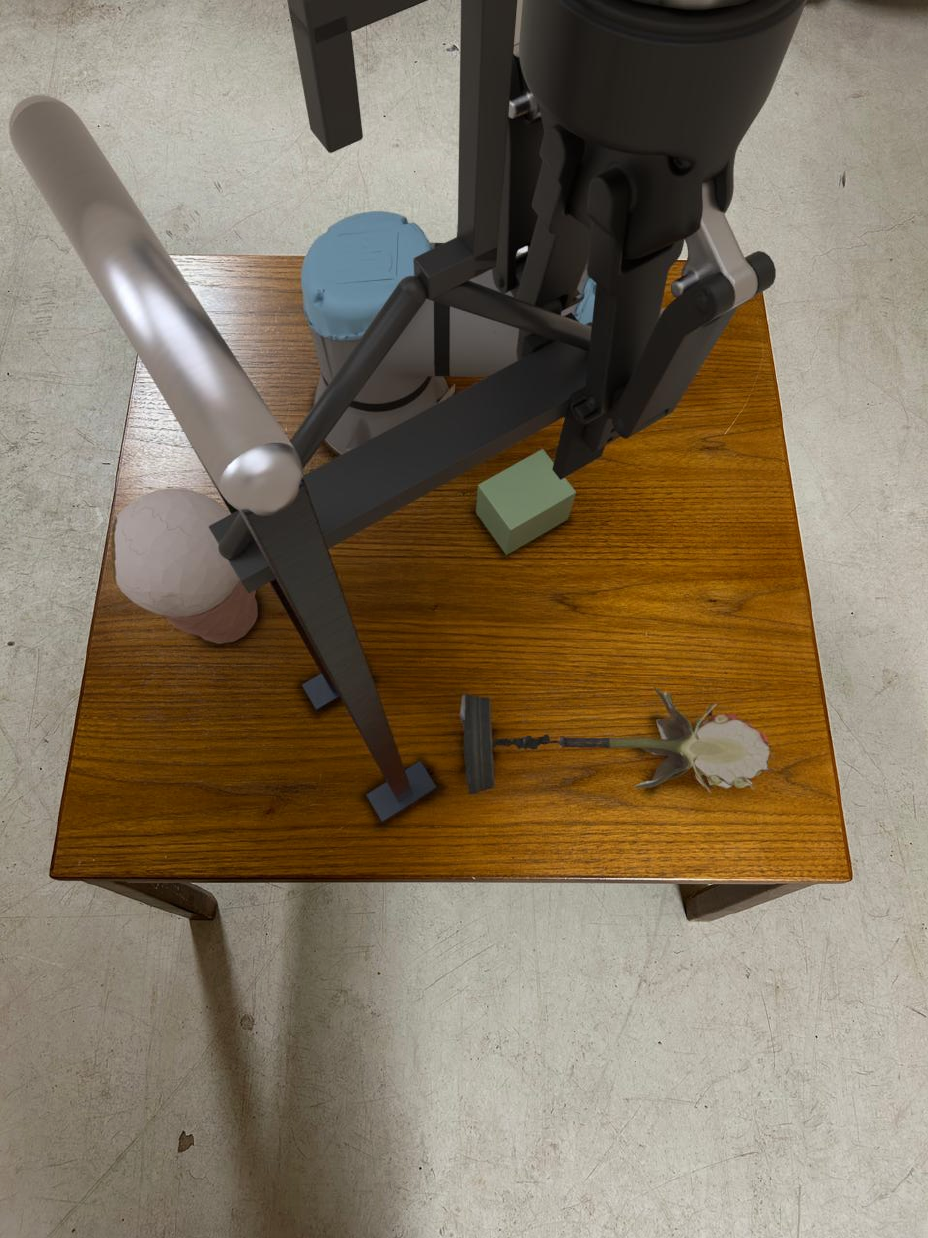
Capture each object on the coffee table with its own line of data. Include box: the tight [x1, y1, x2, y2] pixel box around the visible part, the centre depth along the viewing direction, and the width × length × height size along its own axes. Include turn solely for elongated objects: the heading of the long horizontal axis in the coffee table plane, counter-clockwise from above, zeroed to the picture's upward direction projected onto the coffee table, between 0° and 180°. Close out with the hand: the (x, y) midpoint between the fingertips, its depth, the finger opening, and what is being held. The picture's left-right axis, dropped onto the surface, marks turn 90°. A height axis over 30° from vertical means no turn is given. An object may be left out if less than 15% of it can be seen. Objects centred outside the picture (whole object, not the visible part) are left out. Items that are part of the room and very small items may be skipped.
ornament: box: [459, 685, 775, 795], centre depth 71 cm, size 28×10×9 cm, turn 91°
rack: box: [8, 94, 438, 824], centre depth 47 cm, size 16×6×60 cm, turn 33°
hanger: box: [209, 0, 592, 593], centre depth 26 cm, size 20×3×20 cm, turn 123°
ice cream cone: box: [110, 488, 259, 645], centre depth 70 cm, size 11×11×20 cm
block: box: [475, 448, 577, 556], centre depth 81 cm, size 6×8×6 cm
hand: (557, 436), depth 42 cm, fingers closed on hanger, 3 cm apart
